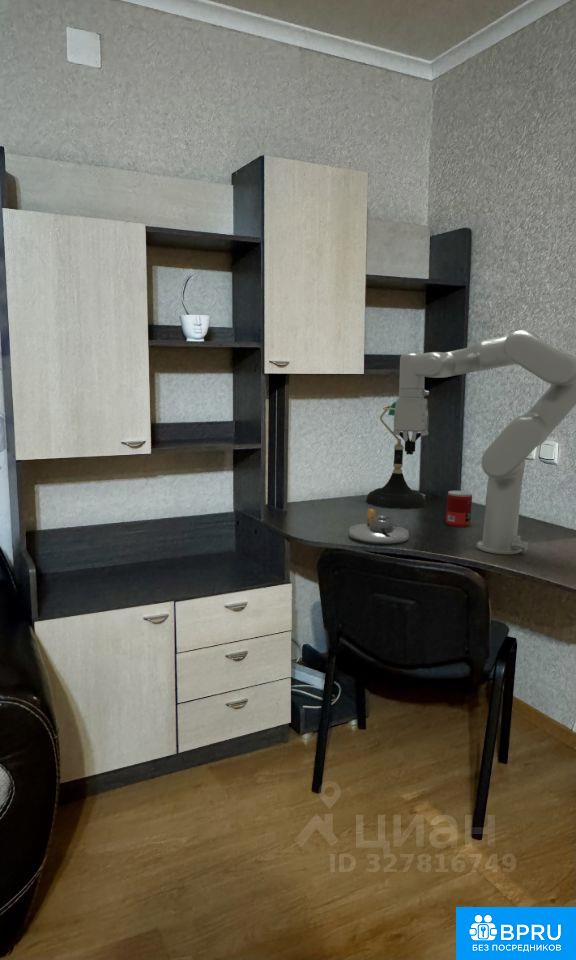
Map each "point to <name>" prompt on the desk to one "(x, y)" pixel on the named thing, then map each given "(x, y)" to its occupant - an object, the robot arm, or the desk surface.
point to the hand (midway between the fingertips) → (409, 453)
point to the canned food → (459, 508)
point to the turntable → (366, 535)
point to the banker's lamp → (396, 481)
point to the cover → (381, 524)
